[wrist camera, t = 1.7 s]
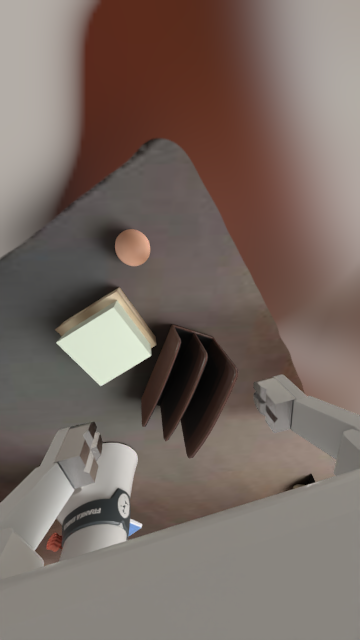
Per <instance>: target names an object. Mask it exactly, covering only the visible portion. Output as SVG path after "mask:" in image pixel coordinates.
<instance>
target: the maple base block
mask: <svg viewBox="0 0 360 640" xmlns="http://www.w3.org/2000/svg"><path fill="white" fill-rule="evenodd" d="M115 301H118V302H119V303H120V305H121V306H122V307H123V308H124V310H125V311H126V312H127V314H128V315H129V316H130V318H131V319H132V320H133V322H134V323H135V324H136V326H137V327H138V328H139V330H140V331H141V332H142V334H143V335H144V336H145V338H146V339H147V340H148V342H149V343H150V344H151V348H153V347H154V346H156V345H157V344H156V337H155V335H154V334H153V333H152V331H151V330H150V329H149V327H148V326H147V324H146V323H145V322H144V320H143V319H142V318H141V316H140V315H139V313H138V312H137V311H136V309H135V308H134V307H133V305H132V304H131V302H130V301H129V300H128V298H127V297H126V296H125V294H124V293H123V291H122V290H121V289H120V287H119V288H117V289H116V290H114V291H112V292H111V293H109V294H108V295H106V296H104V297H103V298H101V299H100V300H98V301H96V302H95V303H93V304H92V305H90V306H88V307H87V308H85V309H84V310H82V311H80V312H79V313H77V314H76V315H74V316H72V317H71V318H69V319H68V320H66V321H64V322H63V323H62V324H61V325H60V326H59V327H58V328H56V329H55V330H56V331H57V332H58V333H59V334H60V335H61V336H63V335H64V334H65V333H66V332H67V331H68V330H70V329H71V328H73V327H75V326H76V325H78V324H79V323H81V322H83V321H84V320H86V319H88V318H89V317H91V316H92V315H94V314H96V313H97V312H99V311H100V310H102V309H104V308H105V307H107V306H109V305H110V304H112V303H113V302H115Z"/></svg>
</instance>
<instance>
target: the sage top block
mask: <svg viewBox="0 0 360 640" xmlns="http://www.w3.org/2000/svg"><path fill="white" fill-rule="evenodd" d="M56 343H57V344H58V345H59V346H60V347H61V348H62V349H63V350H64V351H65V352H66V353H67V354H68V355H69V356H70V357H71V358H72V359H73V360H74V361H75V362H76V363H77V364H79V365H80V366H81V367H82V368H83V369H84V370H85V371H86V372H87V373H88V374H89V375H90V376H91V377H92V378H93V379H94V380H95V381H96V382H97V383H98V384H99V385H100V386H102V385H104V384H105V383H107V382H109V381H110V380H112V379H114V378H115V377H117V376H119V375H120V374H122V373H124V372H125V371H127V370H129V369H130V368H132V367H134V366H135V365H137V364H139V363H140V362H142V361H144V360H145V359H147V358H149V357H150V356H151V344H150V343H149V342H148V340H147V339H146V338H145V336H144V335H143V334H142V332H141V331H140V330H139V328H138V327H137V326H136V324H135V323H134V322H133V320H132V319H131V318H130V316H129V315H128V314H127V312H126V311H125V310H124V308H123V307H122V306H121V305H120V303H119V302H118V301H115V302H113V303H112V304H110V305H109V306H107V307H105V308H104V309H102V310H100V311H99V312H97V313H96V314H94V315H92V316H91V317H89V318H88V319H86V320H84V321H83V322H81V323H79V324H78V325H76V326H75V327H73V328H71V329H70V330H68V331H67V332H66V333H65V334H64V335H63V336H62V337H61V338H60V339H59V340H58V341H57V342H56Z"/></svg>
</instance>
